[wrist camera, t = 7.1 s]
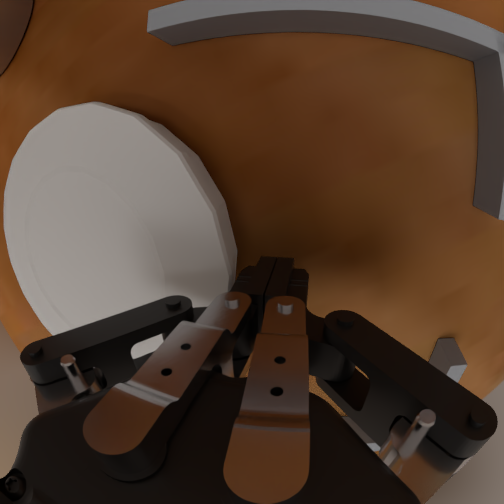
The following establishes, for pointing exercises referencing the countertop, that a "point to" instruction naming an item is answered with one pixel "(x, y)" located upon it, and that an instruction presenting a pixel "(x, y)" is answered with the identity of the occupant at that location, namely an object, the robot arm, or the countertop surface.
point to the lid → (113, 219)
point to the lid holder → (379, 26)
